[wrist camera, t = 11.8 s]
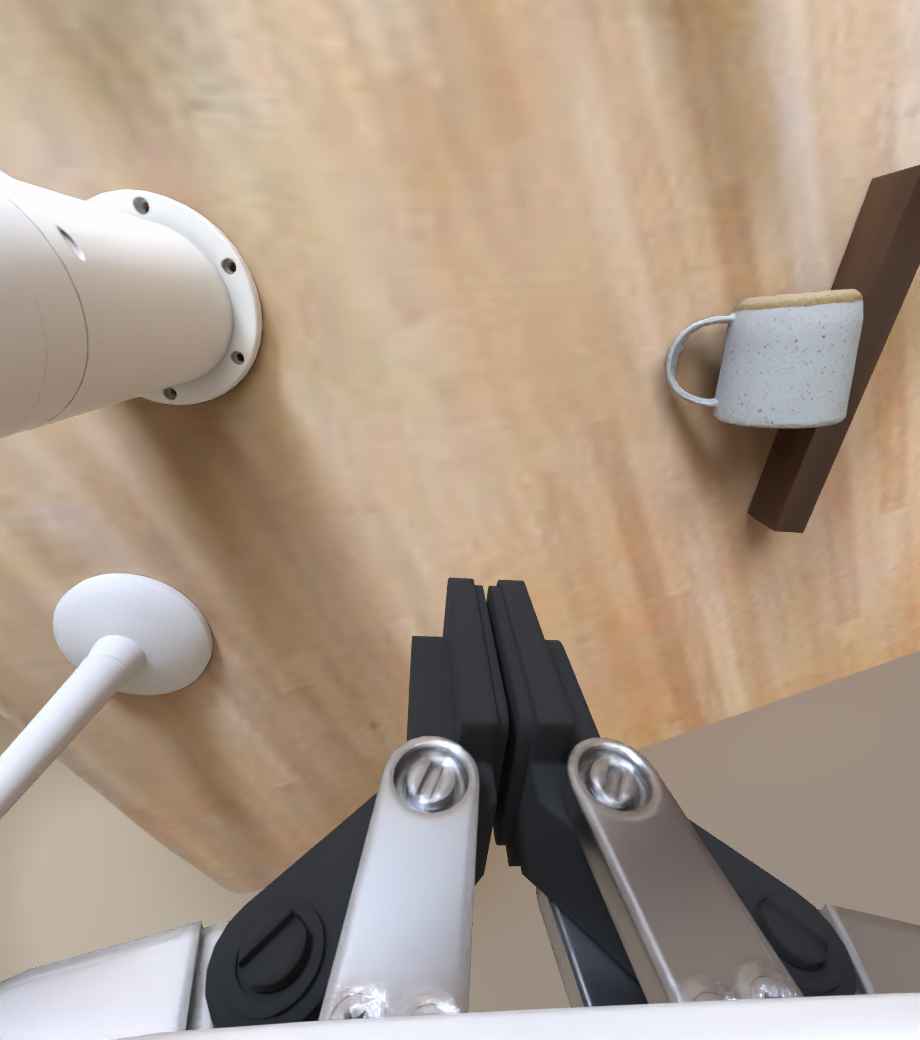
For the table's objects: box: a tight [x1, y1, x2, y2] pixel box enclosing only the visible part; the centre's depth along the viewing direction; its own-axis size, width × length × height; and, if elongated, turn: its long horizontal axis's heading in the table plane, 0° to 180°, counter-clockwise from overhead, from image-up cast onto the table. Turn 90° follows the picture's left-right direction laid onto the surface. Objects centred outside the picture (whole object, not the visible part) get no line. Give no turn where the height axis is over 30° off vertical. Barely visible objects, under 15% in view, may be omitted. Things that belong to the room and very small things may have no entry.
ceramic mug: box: [666, 289, 863, 429], centre depth 31 cm, size 11×8×8 cm
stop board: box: [748, 165, 920, 533], centre depth 34 cm, size 2×24×4 cm, turn 174°
